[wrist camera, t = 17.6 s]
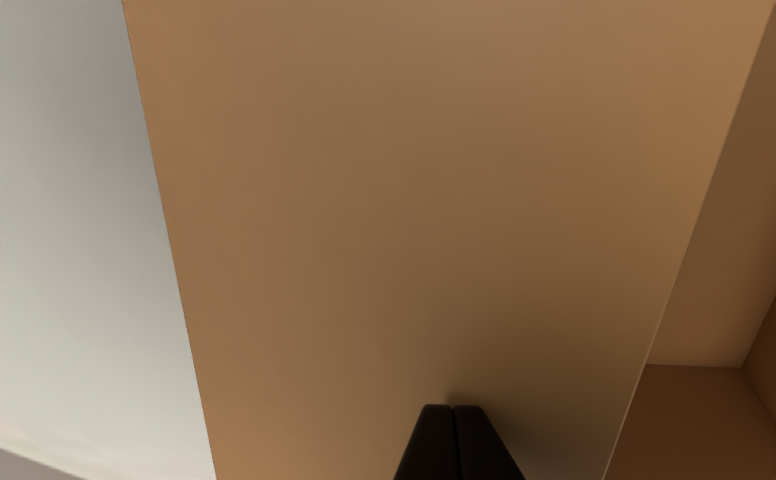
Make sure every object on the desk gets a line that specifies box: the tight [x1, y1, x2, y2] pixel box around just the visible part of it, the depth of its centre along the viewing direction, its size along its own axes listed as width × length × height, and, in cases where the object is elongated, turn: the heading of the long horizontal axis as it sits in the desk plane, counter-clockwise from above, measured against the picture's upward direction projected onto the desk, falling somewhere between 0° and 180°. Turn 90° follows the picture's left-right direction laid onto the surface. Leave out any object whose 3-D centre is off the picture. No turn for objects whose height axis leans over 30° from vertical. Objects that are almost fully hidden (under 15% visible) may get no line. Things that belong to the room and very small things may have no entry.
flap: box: [122, 0, 776, 480], centre depth 10 cm, size 8×16×1 cm
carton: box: [604, 2, 776, 480], centre depth 15 cm, size 16×16×6 cm
